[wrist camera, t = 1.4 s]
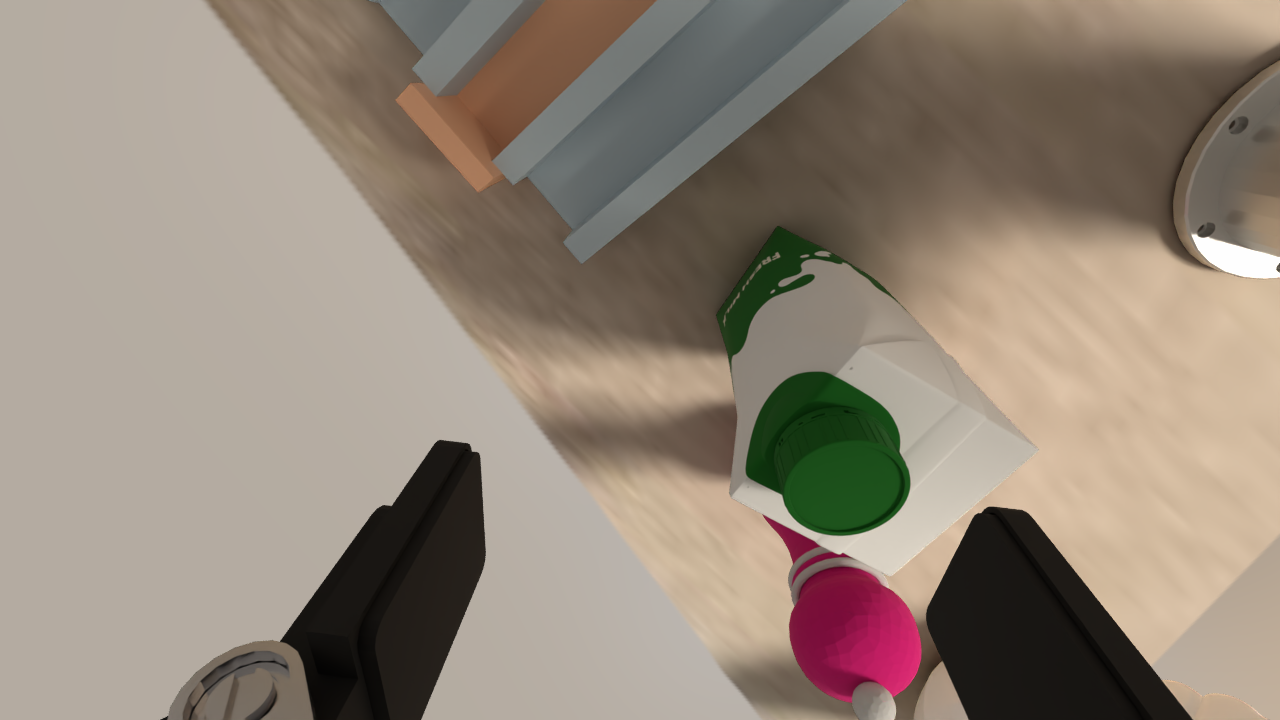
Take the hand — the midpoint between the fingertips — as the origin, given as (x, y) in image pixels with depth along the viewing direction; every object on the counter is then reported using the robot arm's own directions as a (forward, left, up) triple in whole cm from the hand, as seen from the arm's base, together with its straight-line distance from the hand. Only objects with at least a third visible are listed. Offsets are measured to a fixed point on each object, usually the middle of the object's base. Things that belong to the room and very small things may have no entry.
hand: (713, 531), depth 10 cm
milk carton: (-2, +8, -26) cm, 28 cm away
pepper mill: (+4, +18, -26) cm, 32 cm away
